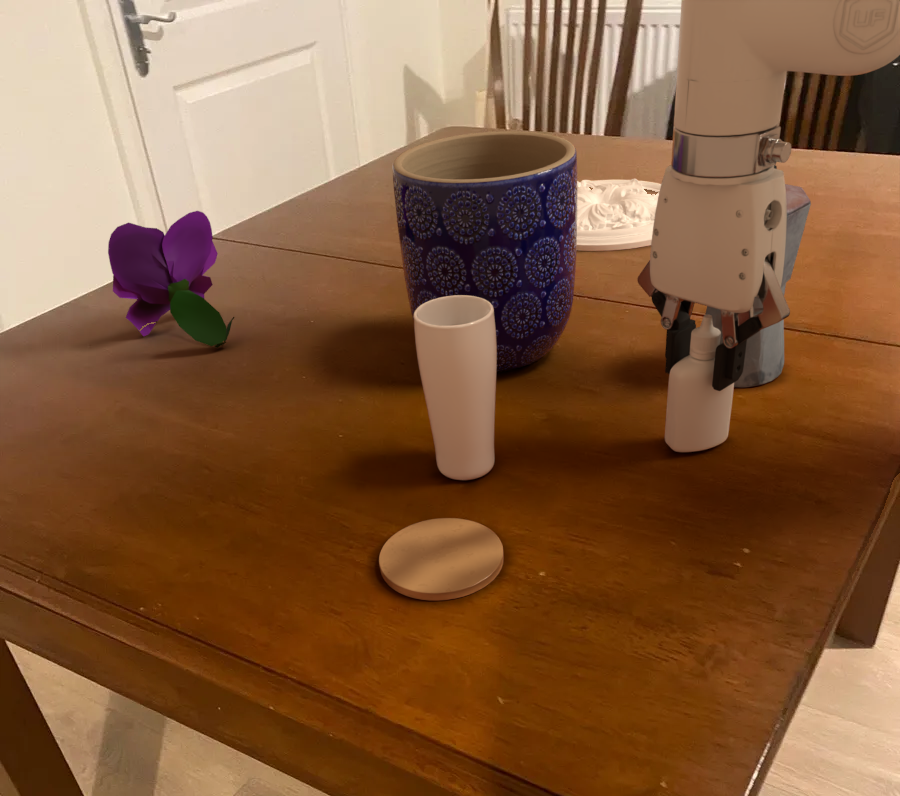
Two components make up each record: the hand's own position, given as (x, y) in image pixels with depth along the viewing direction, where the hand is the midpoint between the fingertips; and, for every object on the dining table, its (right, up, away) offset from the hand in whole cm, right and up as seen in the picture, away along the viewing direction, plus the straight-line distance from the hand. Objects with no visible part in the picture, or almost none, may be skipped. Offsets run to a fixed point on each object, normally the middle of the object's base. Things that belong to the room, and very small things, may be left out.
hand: (702, 374), depth 80 cm
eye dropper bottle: (+1, -5, +4) cm, 7 cm away
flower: (-53, +13, +33) cm, 64 cm away
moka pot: (+8, +4, +16) cm, 18 cm away
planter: (-17, +8, +23) cm, 30 cm away
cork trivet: (-23, -17, -6) cm, 29 cm away
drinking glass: (-21, -8, +5) cm, 22 cm away
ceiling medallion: (+1, +37, +56) cm, 67 cm away
